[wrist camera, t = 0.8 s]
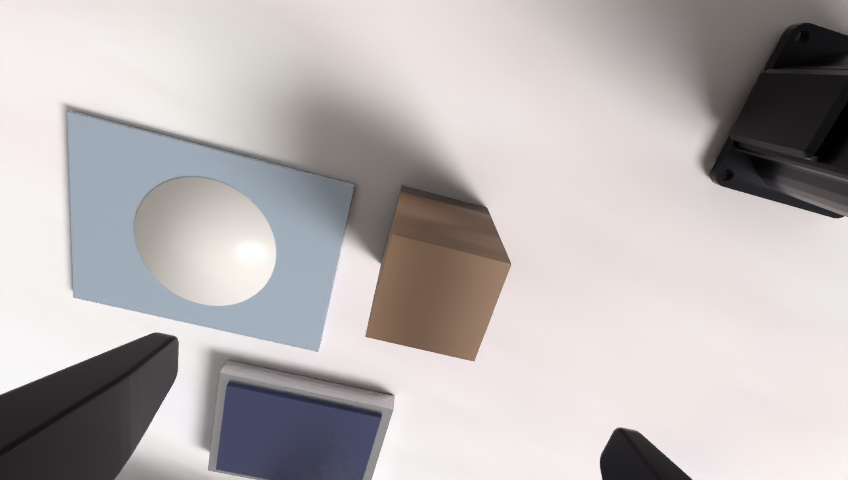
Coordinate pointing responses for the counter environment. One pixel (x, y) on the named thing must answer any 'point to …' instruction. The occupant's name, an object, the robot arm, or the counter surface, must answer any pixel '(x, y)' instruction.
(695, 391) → the counter surface
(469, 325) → the stamp
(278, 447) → the tray
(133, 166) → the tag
